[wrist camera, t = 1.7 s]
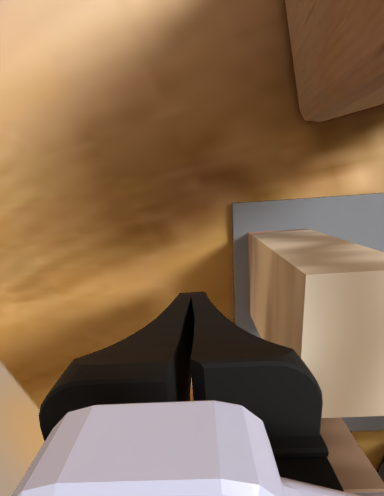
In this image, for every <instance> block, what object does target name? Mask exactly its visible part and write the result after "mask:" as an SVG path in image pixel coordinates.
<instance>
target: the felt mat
mask: <svg viewBox="0 0 384 496" xmlns="http://www.w3.org/2000/svg"><path fill="white" fill-rule="evenodd" d="M232 220H233V263H234V305H235V325H237V326H238V327H240V328H242V329H244V330H245V331H247V332H249V333H251V334H253V335H255V336H257V337H259V338H261V337H260V335H259V333H258V331H257V328H256V326H255V324H254V322H253V320H252V317H251V315H250V313H249V232H264V231H280V230H295V229H311V230H314V231H317V232H320V233H324V234H327V235H330V236H333V237H337V238H340V239H343V240H346V241H349V242H353V243H356V244H359V245H362V246H365V247H369V248H372V249H375V250H378V251H382V252H384V193H376V194H361V195H347V196H332V197H317V198H303V199H288V200H273V201H259V202H244V203H232ZM341 418H342V419H343V421H344V422H345V424H346V426H347V427H348V429H349V430H350V431H378V430H384V416H366V417H341Z"/></svg>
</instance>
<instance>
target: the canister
mask: <svg viewBox="0 0 384 496" xmlns="http://www.w3.org/2000/svg"><path fill="white" fill-rule="evenodd" d="M378 475H379V476H380V478H381V479H382V481H383V482H384V461H383V463H382V465H381V466H380V469H379V471H378Z"/></svg>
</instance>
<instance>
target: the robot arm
mask: <svg viewBox="0 0 384 496" xmlns="http://www.w3.org/2000/svg"><path fill="white" fill-rule="evenodd" d="M191 377H192V386H193V398H194V401H190V386H191ZM322 407H323V399H322V391H321V389H320V387H319V384H318V382H317V380H316V379H315V377H314V376H313V374H312V373H311V371H310V370H309V368H308V367H307V366H306V364H305V363H304V361H303V360H302V359H301V358H300V357H299V355H298V354H297V353H296V352H295V350H294V349H292V348H288V347H285V346H282V345H279V344H275V343H272V342H269V341H267V340H264V339H262V338H259V337H257V336H255V335H253V334H251V333H249V332H247V331H245V330H244V329H242V328H240V327H238V326H237V325H235V324H234V323H233V322H231V321H230V320H228V319H227V318H226V317H225V316H224V315H223V314H222V313H221V312H220V311H219V310H218V309H217V308H216V307H215V306H214V305H213V304H212V302H211V301H210V300H209V298H208V297H207V295H206V293H204V292H191V293H180V294H179V295H178V296H177V297H176V298H175V300H174V301H173V302H172V303H171V304H170V305H169V306H168V307H167V308H166V310H165V311H163V312H162V313H161V314H160V315H159V316H158V317H157V318H156V319H155V320H153V321H152V322H151V323H150V324H148V325H147V326H145V327H144V328H143V329H141V330H139V331H138V332H136V333H134V334H133V335H131V336H129V337H128V338H126V339H124V340H122V341H120V342H118V343H116V344H114V345H111V346H109V347H107V348H104V349H102V350H100V351H97V352H94V353H91V354H88V355H86V356H83V357H80V358H77V359H74V360H73V361H72V363H71V364H70V365H69V366H68V368H67V369H66V370H65V372H64V373H63V374H62V376H61V377H60V379H59V380H58V381H57V383H56V384H55V385H54V387H53V388H52V389H51V391H50V392H49V394H48V395H47V396H46V398H45V400H44V401H43V403H42V404H41V408H40V413H39V421H40V427H41V431H42V434H43V438H44V441H45V442H44V444H43V445H42V447H41V449H40V450H39V452H38V454H37V455H36V457H35V459H34V460H33V462H32V464H31V466H30V467H29V469H28V470H27V472H26V473H25V475H24V477H23V478H22V480H21V482H20V483H19V485H18V487H17V488H16V490H15V491H14V493H13V495H12V496H384V492H348V493H347V492H344V490H343V488H342V486H341V484H340V482H339V480H338V478H337V476H336V474H335V472H334V470H333V468H332V466H331V464H330V462H329V460H328V458H327V456H328V455H329V451H328V448H327V446H326V444H325V442H324V440H323V438H322V436H321V434H320V428H321V417H322Z"/></svg>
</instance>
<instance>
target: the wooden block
mask: <svg viewBox="0 0 384 496" xmlns="http://www.w3.org/2000/svg"><path fill="white" fill-rule="evenodd" d="M285 6H286V13H287V21H288V28H289V36H290V43H291V51H292V58H293V65H294V73H295V80H296V88H297V95H298V102H299V110H300V113H301V115H302V117H303V119H304V121H315V122H323V121H326V120H330V119H333V118H336V117H340V116H343V115H347V114H350V113H354V112H357V111H361V110H364V109H368V108H371V107H375V106H378V105H382V104H384V0H285Z"/></svg>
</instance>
